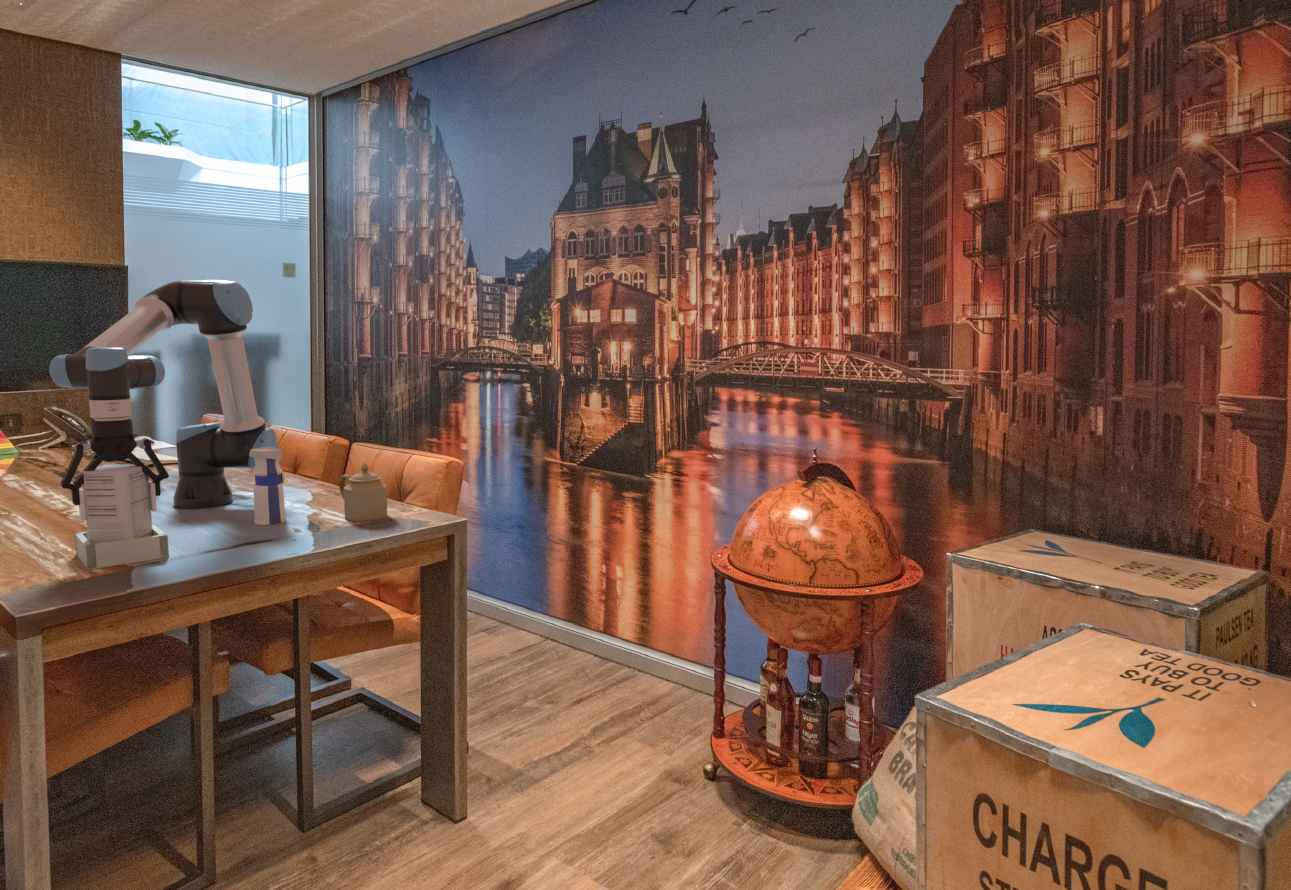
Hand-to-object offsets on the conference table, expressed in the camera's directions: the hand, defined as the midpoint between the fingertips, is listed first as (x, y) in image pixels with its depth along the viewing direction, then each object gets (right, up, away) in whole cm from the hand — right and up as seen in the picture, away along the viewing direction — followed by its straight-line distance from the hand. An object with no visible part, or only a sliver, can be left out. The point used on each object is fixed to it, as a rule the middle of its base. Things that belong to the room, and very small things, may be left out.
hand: (119, 515), depth 178 cm
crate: (0, -9, +1) cm, 9 cm away
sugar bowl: (+38, -4, +42) cm, 57 cm away
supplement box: (0, -6, +1) cm, 6 cm away
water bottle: (+17, -5, +36) cm, 40 cm away
